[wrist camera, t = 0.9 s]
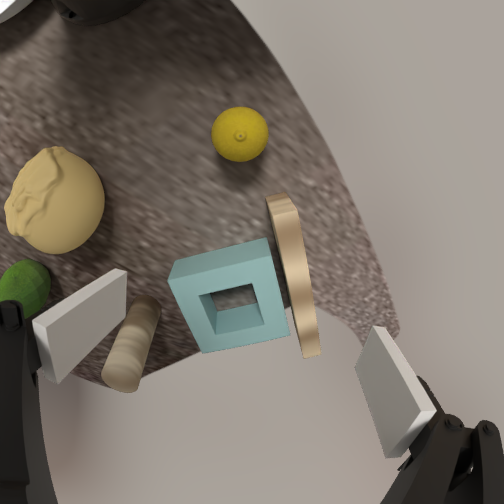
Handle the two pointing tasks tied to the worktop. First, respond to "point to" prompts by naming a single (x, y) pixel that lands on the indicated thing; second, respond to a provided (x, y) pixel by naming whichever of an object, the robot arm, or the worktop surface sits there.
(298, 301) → the oak wall
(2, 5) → the serving bowl
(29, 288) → the avocado
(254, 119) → the lemon
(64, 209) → the sculpture
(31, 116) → the worktop surface
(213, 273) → the socket block
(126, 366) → the dowel
